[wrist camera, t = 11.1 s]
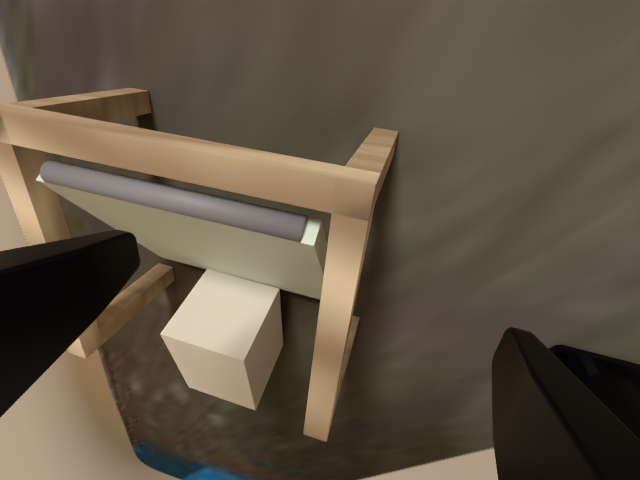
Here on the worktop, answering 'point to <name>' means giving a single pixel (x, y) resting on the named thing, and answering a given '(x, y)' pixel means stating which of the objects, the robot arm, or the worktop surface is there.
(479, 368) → the worktop surface
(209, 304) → the stone block
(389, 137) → the frame
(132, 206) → the trapdoor
